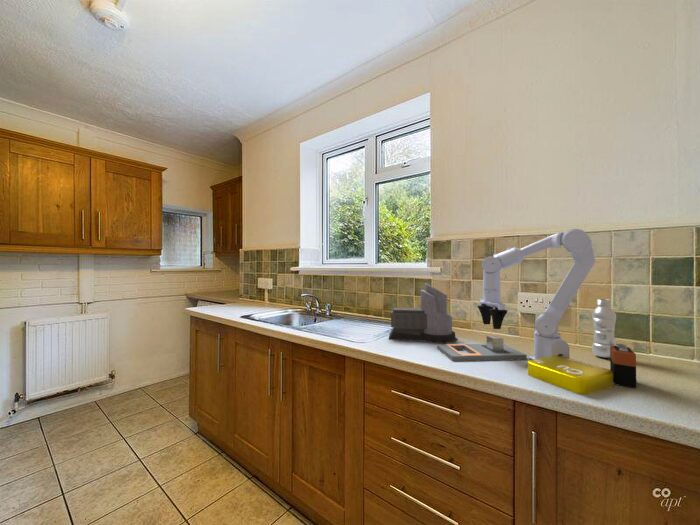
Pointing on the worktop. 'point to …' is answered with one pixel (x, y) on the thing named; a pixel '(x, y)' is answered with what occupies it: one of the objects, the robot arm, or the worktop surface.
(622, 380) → the battery
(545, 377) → the element tile
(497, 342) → the block
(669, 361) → the worktop surface
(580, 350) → the worktop surface
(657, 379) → the worktop surface
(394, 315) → the juicer
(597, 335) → the plastic bottle
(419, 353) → the worktop surface
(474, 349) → the rail plate
